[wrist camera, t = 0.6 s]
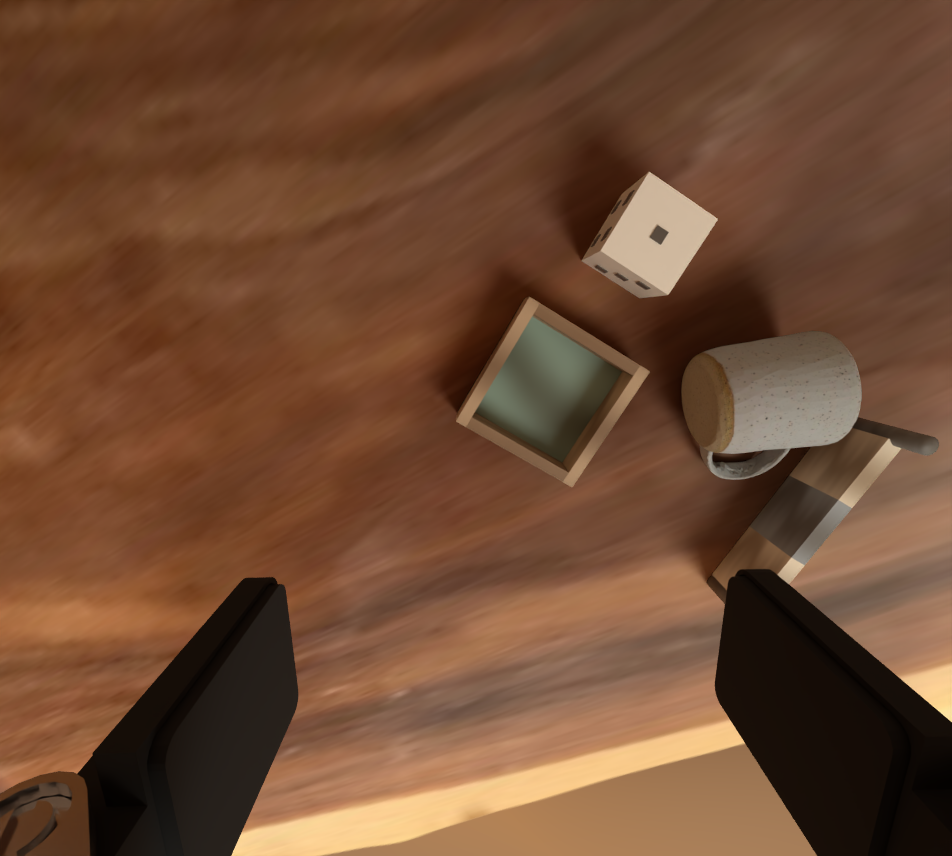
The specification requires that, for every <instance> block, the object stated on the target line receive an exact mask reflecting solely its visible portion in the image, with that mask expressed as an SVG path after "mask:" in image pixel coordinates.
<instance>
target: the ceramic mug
mask: <svg viewBox="0 0 952 856" xmlns="http://www.w3.org/2000/svg"><path fill="white" fill-rule="evenodd" d="M681 394H682V406H683V412H684V416H685V420H686V423H687V425H688V428H689V430H690V433H691V434H692V436H693V437H694V439H695V440H696V442H697V443H698V444H700V453H701V457H702V459H703V461H704V463H705V464H706V466H707V467H708V469H709V470H710V471H711V472H712V473H713V474H715V475H716V476H718V477H720V478H723V479H731V480H738V479H747V478H751V477H754V476H757V475H760V474H762V473H764V472H766V471H768V470H769V469H771V468H772V467H774V466H775V465H776V464H777V463H779V462H780V461H781V460H782V459H783V457H784V456H785V455H786V454H787V453H788V452H789V450H790V448H799V447H811V446H822V445H828V444H832V443H835V442H838V441H839V440H841V439H842V438H843V437H844V436H845V435H846V434H848V433H849V432H850V430H851V429H852V427H853V425H854V423H855V422H856V420H857V417H858V414H859V410H860V404H861V394H862V391H861V381H860V376H859V372H858V368H857V365H856V363H855V361H854V358H853V356H852V355H851V353H850V352H849V350H848V349H847V348H846V347H845V345H844V344H843V343H842V342H841V341H840V340H839V339H837V338H836V337H834V336H833V335H831V334H828V333H825V332H819V331H809V332H802V333H797V334H792V335H786V336H780V337H774V338H768V339H761V340H757V341H752V342H746V343H740V344H733V345H727V346H721V347H717V348H714V349H710V350H707V351H704V352H702V353H700V354H698V355H696V356H695V357H694V358H692V359H691V361H690V362H689V364H688V365H687V367H686V369H685V371H684V375H683V378H682V389H681ZM761 450H764V451H763V452H762V453H760V454H759V455H757V456H756V457H754V458H753V459H750V460H747V461H744V462H731V463H724V462H717V463H715V462H713V461H712V455H713V452H716V453H730V454H737V453H747V452H754V451H761Z"/></svg>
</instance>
